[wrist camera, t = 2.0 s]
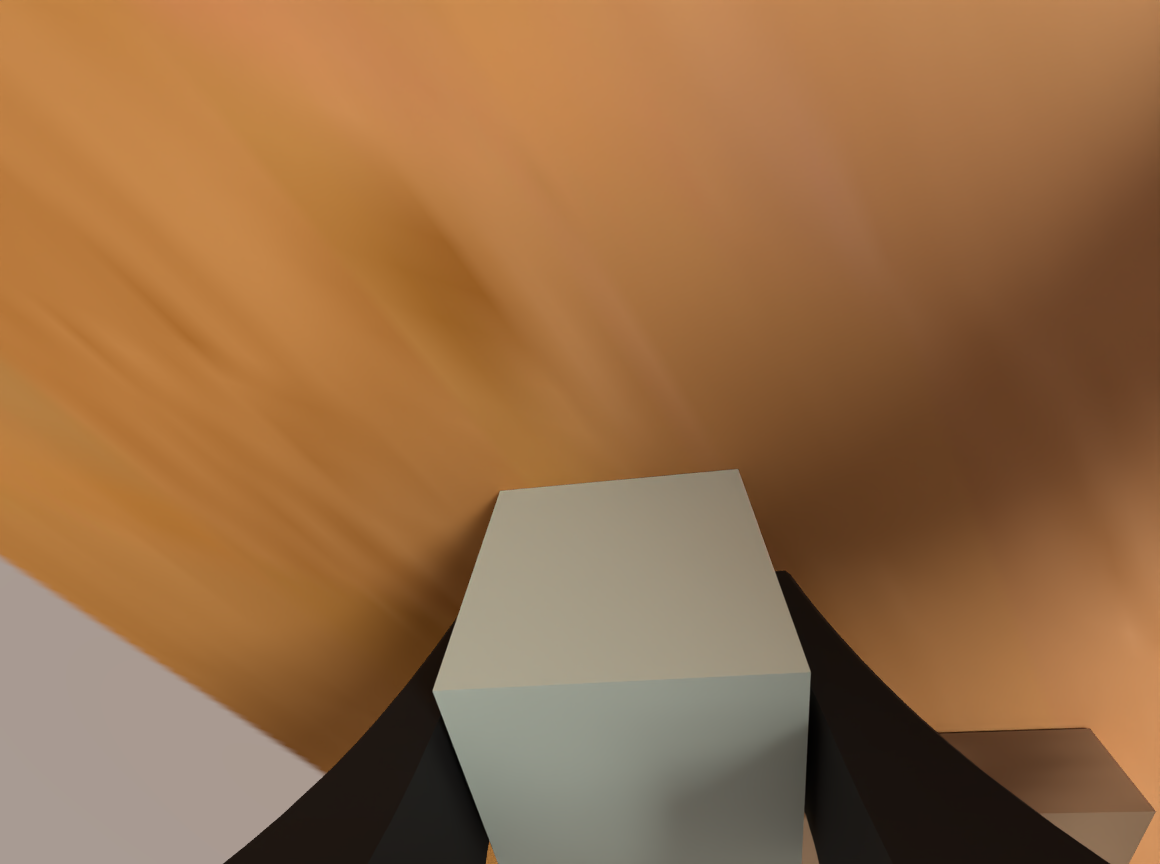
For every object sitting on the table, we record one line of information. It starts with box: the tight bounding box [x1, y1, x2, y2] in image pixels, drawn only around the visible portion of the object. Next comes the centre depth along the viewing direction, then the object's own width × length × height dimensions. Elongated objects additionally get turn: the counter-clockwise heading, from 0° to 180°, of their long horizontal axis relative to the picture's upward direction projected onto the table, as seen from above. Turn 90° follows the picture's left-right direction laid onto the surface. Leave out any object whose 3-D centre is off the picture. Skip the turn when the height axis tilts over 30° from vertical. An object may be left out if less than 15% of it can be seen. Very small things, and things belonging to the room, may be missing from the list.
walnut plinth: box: [802, 728, 1156, 864], centre depth 16 cm, size 8×8×2 cm
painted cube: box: [433, 469, 811, 864], centre depth 11 cm, size 5×5×5 cm
